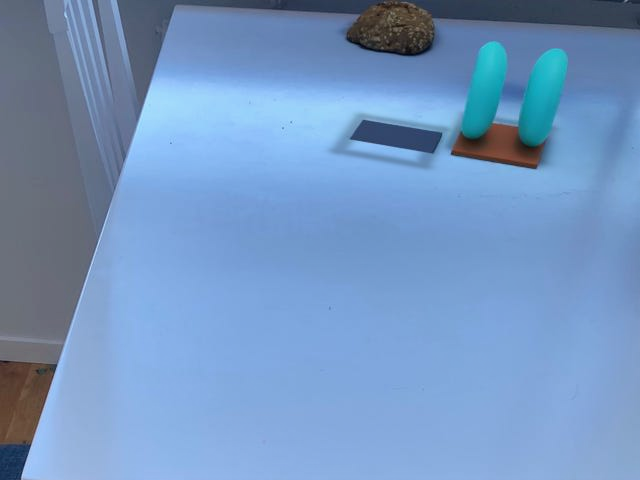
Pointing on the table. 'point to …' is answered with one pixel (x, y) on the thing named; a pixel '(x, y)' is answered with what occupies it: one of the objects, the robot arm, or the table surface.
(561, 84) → the cyan capsule pair
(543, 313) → the table surface
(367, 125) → the blue mat
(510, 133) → the terracotta mat
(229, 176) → the table surface
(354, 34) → the bread roll
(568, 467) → the table surface
